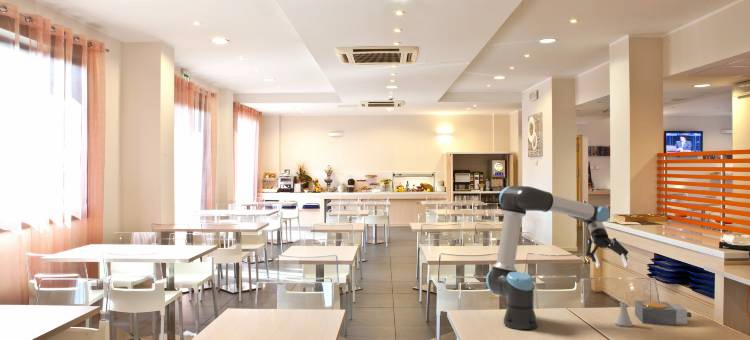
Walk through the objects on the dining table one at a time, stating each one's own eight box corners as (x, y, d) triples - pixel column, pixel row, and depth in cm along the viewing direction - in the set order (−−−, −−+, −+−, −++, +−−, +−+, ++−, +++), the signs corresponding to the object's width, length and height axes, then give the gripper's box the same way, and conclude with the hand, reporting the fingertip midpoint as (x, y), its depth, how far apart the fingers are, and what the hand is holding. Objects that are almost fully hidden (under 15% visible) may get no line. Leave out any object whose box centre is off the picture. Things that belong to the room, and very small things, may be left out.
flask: (634, 327, 221) (634, 305, 221) (617, 326, 222) (617, 304, 222) (629, 323, 228) (629, 301, 228) (613, 322, 229) (612, 300, 229)
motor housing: (642, 323, 227) (642, 307, 227) (635, 314, 241) (634, 299, 241) (696, 326, 222) (696, 310, 222) (685, 317, 235) (685, 302, 235)
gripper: (619, 236, 254) (635, 270, 239) (571, 236, 254) (584, 271, 239) (624, 227, 248) (641, 261, 233) (575, 227, 249) (589, 262, 233)
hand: (612, 266), depth 236 cm, fingers open, 13 cm apart
